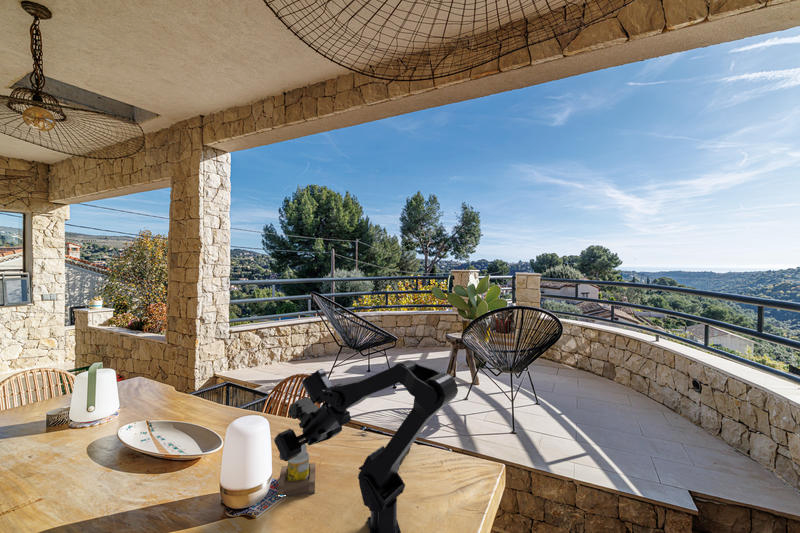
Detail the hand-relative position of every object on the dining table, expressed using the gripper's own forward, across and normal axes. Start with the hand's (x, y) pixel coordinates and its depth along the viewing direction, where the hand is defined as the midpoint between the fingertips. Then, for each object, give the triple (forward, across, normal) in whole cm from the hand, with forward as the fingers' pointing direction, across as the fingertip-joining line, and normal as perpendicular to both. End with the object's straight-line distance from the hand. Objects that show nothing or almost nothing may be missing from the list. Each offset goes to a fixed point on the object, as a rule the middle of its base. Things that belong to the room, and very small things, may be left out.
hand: (294, 450), depth 92 cm
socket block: (+5, 0, +7) cm, 9 cm away
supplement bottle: (+5, 0, +7) cm, 8 cm away
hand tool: (-5, -27, +18) cm, 32 cm away
